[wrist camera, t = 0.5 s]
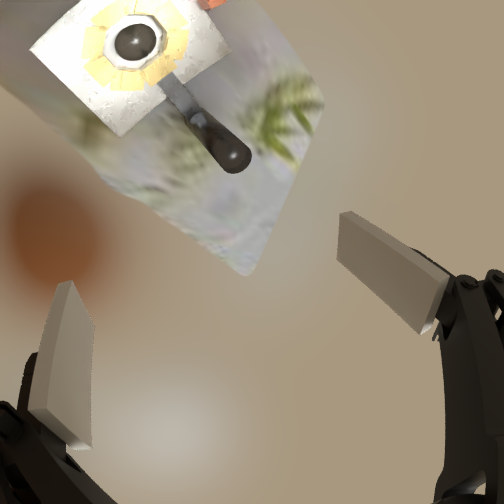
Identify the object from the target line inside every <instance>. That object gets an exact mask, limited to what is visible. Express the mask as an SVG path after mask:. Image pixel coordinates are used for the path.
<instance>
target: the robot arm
mask: <svg viewBox="0 0 504 504" xmlns="http://www.w3.org/2000/svg"><path fill="white" fill-rule="evenodd" d="M337 260H338V261H339V262H340V263H341V264H342V265H343V266H344V267H346V268H347V269H348V270H349V271H350V272H351V273H352V274H354V275H355V276H356V277H357V278H358V279H359V280H360V281H361V282H363V283H364V284H365V285H366V286H367V287H368V288H369V289H370V290H372V291H373V292H374V293H375V294H376V295H377V296H378V297H379V298H380V299H382V300H383V301H384V302H385V303H386V304H387V305H388V306H389V307H390V308H391V309H392V310H393V311H395V313H397V314H398V315H399V316H400V317H401V318H402V319H403V320H404V321H405V322H406V323H407V324H408V325H409V326H410V327H411V328H412V329H414V330H415V331H416V332H417V333H418V334H419V335H421V334H423V333H424V332H426V331H427V330H429V329H430V328H431V326H432V324H433V321H434V319H435V318H437V319H438V320H439V323H438V326H437V328H436V330H435V333H434V335H433V337H432V341H434V340H435V338H436V336H437V335H439V338H438V341H439V342H440V350H441V358H442V368H443V379H444V393H445V427H446V428H445V459H444V468H443V471H442V473H441V474H440V476H439V478H438V480H437V483H436V488H435V494H434V501H433V503H432V504H504V273H502V272H501V271H498V270H494V269H491V270H489V271H488V272H487V275H486V277H485V280H481V281H477V280H476V279H475V278H473V277H471V276H468V275H459V276H457V277H455V276H454V275H452V274H451V273H450V272H448V271H447V270H446V269H444V268H443V267H441V266H440V265H438V264H437V263H436V262H433V260H431V259H430V258H427V257H426V256H425V255H424V254H422V253H421V252H419V251H418V250H415V249H413V248H410V247H408V246H406V245H405V244H403V243H402V242H400V241H399V240H397V239H396V238H394V237H393V236H391V235H389V234H388V233H386V232H385V231H383V230H382V229H380V228H378V227H377V226H375V225H373V224H372V223H370V222H369V221H367V220H365V219H364V218H362V217H360V216H359V215H357V214H355V213H354V212H352V211H350V212H345V213H341V214H340V218H339V235H338V249H337ZM499 308H500V309H501V311H502V313H501V315H500V317H499V319H498V320H496V318H495V314H496V313H497V311H498V309H499ZM94 327H95V326H94V324H93V322H92V320H91V318H90V316H89V314H88V312H87V310H86V308H85V306H84V304H83V302H82V300H81V298H80V296H79V294H78V292H77V289H76V287H75V285H74V283H73V281H72V280H70V281H67V282H63V283H59V284H58V286H57V289H56V292H55V295H54V298H53V301H52V304H51V307H50V311H49V314H48V317H47V320H46V324H45V327H44V331H43V335H42V339H41V343H40V346H39V351H38V352H36V353H32V354H31V356H30V357H29V359H28V361H27V362H26V365H25V369H24V373H23V375H24V376H23V378H22V385H21V388H20V393H19V399H18V405H17V410H15V408H13V407H12V406H11V405H10V404H9V403H8V402H6V401H0V504H117V503H116V502H115V501H114V500H113V499H112V498H111V497H110V496H109V495H107V494H106V493H105V492H104V491H103V490H102V489H101V488H100V487H99V486H98V485H97V484H96V483H95V482H94V481H93V480H92V479H91V478H90V477H89V476H88V475H87V474H86V473H85V471H84V470H83V469H82V468H80V466H79V465H78V464H77V463H76V462H75V460H74V459H73V458H72V457H71V456H70V455H69V454H68V453H66V444H67V445H68V446H70V447H71V448H72V449H74V450H86V449H92V436H91V369H92V352H93V339H94ZM484 483H486V488H485V495H481V494H474V492H475V490H476V489H477V488H478V487H479V486H480V485H482V484H484Z"/></svg>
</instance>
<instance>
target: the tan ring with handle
mask: <svg viewBox="0 0 504 504" xmlns="http://www.w3.org/2000/svg"><path fill="white" fill-rule="evenodd" d="M161 3H162V0H126V3H125V2H124V1H123V0H115V1H113V2H112V3H110V4H109V5H108V6H106V7H105V8H104V9H102V10H101V11H100V12H99V13H97V14H96V15H95V16H94V17H92V18H91V19H90V20H91V21H92V22H93V23H94V24H95V25H96V26H91V27H85V32H84V38H83V44H82V51H81V58H80V59H90V60H88V61H87V62H86V63H85V64H84V65H83V68H84V69H85V70H86V71H87V72H88V73H89V74H90V75H91V76H92V77H93V78H94V79H95V80H96V81H97V82H98V83H99V84H100V85H101V86H102V87H103V88H104V87H105V86H106V85H107V84H108V83H110V82H111V84H110V91H135V90H143V89H144V82H145V81H146V82H147V83H148V85H149V86H150V87H152V86H154V85H155V84H157V85H158V86H159V87H160V88H161V89H162V91H163V92H164V93H165V94H166V95H167V97H168V98H169V99H170V100H171V101H172V103H173V104H174V105H175V106H176V107H177V109H178V110H179V111H180V112H181V113H182V115H183V116H184V117H185V124H186V125H187V127H188V128H189V129H190V130H191V131H192V133H193V134H194V135H195V136H196V137H197V138H198V140H199V141H200V142H201V143H202V144H203V146H204V147H205V148H206V149H207V150H208V151H209V153H210V154H211V155H212V156H213V157H214V159H215V160H216V161H217V162H218V163H219V165H220V166H221V167H222V168H223V169H224V171H226V172H227V173H231V174H235V173H239V172H241V171H243V170H244V169H246V168H247V166H248V165H249V164H250V162H251V158H252V154H251V150H250V149H249V148H248V147H247V146H246V145H245V144H244V143H243V142H242V141H241V140H239V139H238V138H237V137H236V136H235V135H234V134H233V133H231V132H230V131H229V130H228V129H227V128H226V127H225V126H223V125H222V124H221V123H220V122H219V121H218V120H216V119H215V118H214V117H213V116H212V115H210V114H209V113H208V112H207V111H206V110H204V109H203V108H200V106H199V105H198V104H197V103H196V101H195V100H194V99H193V97H192V96H191V95H190V93H189V92H188V91H187V90H186V88H185V87H184V86H183V85H182V83H181V82H180V81H179V79H178V78H177V77H176V76H175V74H174V73H173V72H172V71H173V70H174V69H176V68H177V67H178V66H177V65H176V64H175V63H174V61H173V60H183V55H184V52H186V48H187V44H188V39H187V38H188V34H189V30H183V29H180V28H182V27H183V26H185V25H186V24H188V22H187V21H186V20H185V18H184V17H183V16H182V14H181V13H180V12H179V10H178V9H177V8H176V6H175V5H174V4H173V2H172V1H171V0H168V1H166V2H165V3H163V4H161ZM126 15H143V16H151V17H152V18H153V19H154V21H155V22H156V23H157V24H158V26H159V27H160V28H161V29H162V31H163V37H162V41H161V46H160V50H159V54H157V55H156V56H155V57H153V58H152V59H151V60H149V61H148V62H147V63H146V64H144V65H143V66H142V67H141V68H116V67H115V66H114V65H113V64H112V63H111V61H110V60H109V59H108V58H107V57H106V56H105V55H104V54H103V47H104V41H105V36H106V30H108V29H109V28H110V27H111V26H113V25H114V24H115V23H117V22H118V21H119V20H121V19H122V18H123V17H125V16H126Z"/></svg>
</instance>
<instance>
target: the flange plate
mask: <svg viewBox="0 0 504 504" xmlns="http://www.w3.org/2000/svg"><path fill="white" fill-rule="evenodd" d="M113 1H115V0H81V1H80V2H79V3H77V4H76V5H75V6H74V7H73V8H72V9H70V10H69V11H68V12H67V13H66V14H65V15H64V16H62V17H61V18H60V19H59V20H58V21H57V22H56V23H55V24H54V25H53V26H52V27H51V28H50V29H49V30H48V31H47V32H46V33H45V34H44V35H43V36H42V37H41V38H40V39H39V40H38V41H37V42H36V43H35V44H34V45H33V46H32V47H31V48H30V50H31V51H32V52H33V53H34V54H35V55H36V56H37V57H38V58H39V59H40V60H41V61H42V62H43V63H44V64H45V65H46V66H47V67H48V68H49V69H50V70H51V71H52V72H53V73H54V74H55V75H56V76H57V77H58V78H59V79H60V80H61V81H62V82H63V83H64V84H65V85H66V86H67V87H68V88H69V89H70V90H71V91H72V92H73V93H74V94H75V95H76V96H77V97H78V98H79V99H80V100H81V101H82V102H83V103H85V104H86V105H87V106H88V107H89V108H90V109H91V110H92V111H93V112H94V113H95V114H96V115H97V116H98V117H99V118H100V119H101V120H102V121H103V122H104V123H105V124H106V125H107V126H108V127H109V128H110V129H111V130H112V131H113V132H114V133H115V134H117V135H118V136H119V137H120V138H121V137H122V136H123V135H124V134H125V133H126V132H127V131H128V130H129V129H130V128H132V127H133V126H134V125H135V124H136V123H137V122H138V121H139V120H141V119H142V118H143V117H144V116H145V115H146V114H147V113H149V112H150V111H151V110H152V109H153V108H155V107H156V106H157V105H158V104H159V103H161V102H162V101H163V100H164V99H166V98H167V95H166V94H165V93H164V92H163V91H162V89H161V88H160V87H159V86H158V85H157V84H155V85H154V86H152V87H150V86H149V85H148V83H147V82H146V81H145V82H144V89H143V90H135V91H110V84H111V82H110V83H108V84H107V85H106V86H105V87H104V88H103V87H102V86H101V85H100V84H99V83H98V82H97V81H96V80H95V79H94V78H93V77H92V76H91V75H90V74H89V73H88V72H87V71H86V70H85V69H84V68H83V65H84V64H85V63H86V62H87V61H88V60H90V59H80V58H81V51H82V44H83V38H84V32H85V27H91V26H96V25H95V24H94V23H93V22H92V21H91V20H90V19H91V18H92V17H94V16H95V15H96V14H97V13H99V12H100V11H101V10H102V9H104V8H105V7H106V6H108V5H109V4H110V3H112V2H113ZM123 1H124V2H125V3H126V0H123ZM166 1H168V0H162V3H161V4H163V3H165V2H166ZM171 1H172V2H173V4H174V5H175V6H176V8H177V9H178V10H179V12H180V13H181V14H182V16H183V17H184V18H185V20H186V21H187V22H188V24H186V25H185V26H183V27H182V28H180V29H183V30H189V34H188V38H187V39H188V44H187V48H186V52H184V55H183V60H173V61H174V63H175V64H176V65H177V66H178V67H177V68H176V69H174V70H173V71H172V72H173V73H174V74H175V76H176V77H177V78H178V79H179V81H180V82H181V83H182V85H184V84H185V83H187V82H188V81H189V80H191V79H192V78H193V77H195V76H196V75H198V74H199V73H200V72H202V71H203V70H205V69H206V68H208V67H209V66H211V65H212V64H214V63H215V62H217V61H218V60H220V59H221V58H223V57H224V56H226V55H227V54H229V53H231V52H232V51H231V49H230V48H229V46H228V45H227V43H226V42H225V40H224V39H223V37H222V35H221V34H220V32H219V31H218V29H217V28H216V27H215V25H214V24H213V22H212V21H211V19H210V18H209V16H208V15H207V13H206V12H205V11H204V10H207V9H212V8H214V7H216V6H219V5H221V4H223V3H226V0H171ZM162 37H163V31H162V29H161V28H160V27H159V26H158V24H157V23H156V22H155V21H154V19H153V18H152V17H151V16H143V15H126V16H125V17H123V18H122V19H121V20H119V21H118V22H117V23H115V24H114V25H113V26H111V27H110V28H109V29H108V30H106V36H105V41H104V47H103V54H104V55H105V56H106V57H107V58H108V59H109V60H110V61H111V63H112V64H113V65H114V66H115V67H116V68H141V67H142V66H143V65H144V64H146V63H147V62H148V61H149V60H151V59H152V58H153V57H155V56H156V55H157V54H159V50H160V46H161V41H162Z"/></svg>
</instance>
